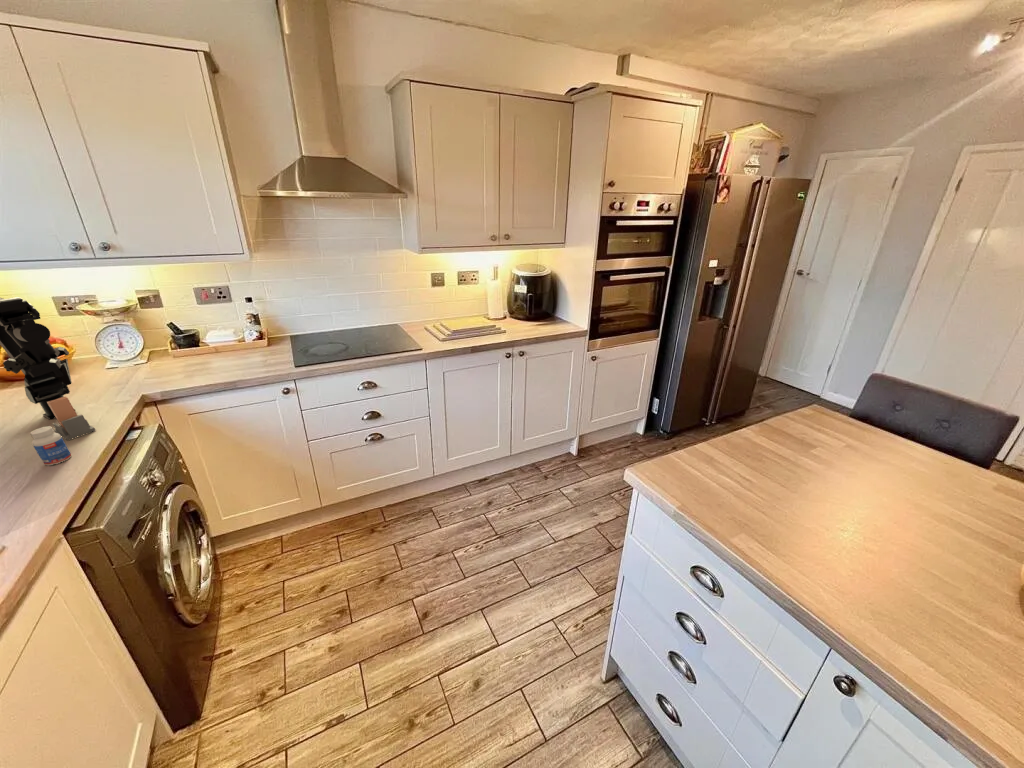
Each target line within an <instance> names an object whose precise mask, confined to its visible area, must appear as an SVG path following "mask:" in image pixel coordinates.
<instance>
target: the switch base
mask: <svg viewBox="0 0 1024 768" xmlns="http://www.w3.org/2000/svg"><path fill="white" fill-rule="evenodd" d="M77 415H78V416H75V417H72V418H70V419H67V420H64V421H61V422H62V424H63V426H64V427H65V429H66V431H67V432H66V431H65V429H64V428H63V427H62V426H61V425H60V424H58V423H56V422H53V423H51V424H52V426H53V427H54V429H53V430H54V433H58V434H60V435H61V436H62V438H63V437H64V438H63V439H65V438H66V439H67V440H66V439H65V440H66V441H68V440H69V439H72V438H75V437H77V436H80V437H82V436H81V435H83V434H85V435H87V434H86V433H88V434H91V433H93V432H96V431H95V430H96V429H95V427H93V426H92V425H90V424H89V422H88V420H87V419H86V418H85V417H84V415H83V414H77ZM92 431H93V432H92ZM90 432H91V433H90ZM83 436H84V435H83ZM77 438H78V437H77ZM75 439H76V438H75ZM72 440H73V439H72ZM69 441H70V440H69Z"/></svg>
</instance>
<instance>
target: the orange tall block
mask: <svg viewBox="0 0 1024 768" xmlns="http://www.w3.org/2000/svg"><path fill="white" fill-rule="evenodd" d="M47 403H48V405H49V407H50V408H51V410H52V412H53V413H54V415H55V417H56V418H55V419H56V420H57V422H58V423H59V424H58V425H60V426H62V427H63V428H64V429H65V427H64V426H63V424H62V422H61V421H64V420H67V419H70V418H72V417H75V416H78V415H79V414H78V413H77V412H76V411H75V410H76V409H75V408H74V406H73V405H72V403H71V402H70V400H69V398H68V397H67V396H64V397H61V398H58V399H55V400H52V401H48V402H47ZM74 409H75V410H74ZM65 431H66V429H65ZM66 432H67V431H66Z"/></svg>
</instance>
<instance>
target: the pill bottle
mask: <svg viewBox="0 0 1024 768" xmlns="http://www.w3.org/2000/svg"><path fill="white" fill-rule="evenodd" d="M54 430H55V429H53V427H52V426H50V425H49V426H42V427H41V426H40V427H38V428H36V429H34V430H32V431H30V434H31V437H32V440H31V445H32V446H33V448H34V450H35V451H36V454H38V456H39V458H40V459H41V461H42V463H43V464H44V466H49V465H50V466H54V465H53V464H56V465H58V464H57V463H59V464H61V463H60V462H62V463H64V462H66V461H68V460H70V459H71V458H70V457H72V453H71V451H70V449H69V448H68V446H67V444H66V442H65V440H64V438H63V437H61V435H60V434H58V433H55V431H54ZM69 458H70V459H69ZM67 459H68V460H67ZM65 460H66V461H65ZM63 461H64V462H63Z"/></svg>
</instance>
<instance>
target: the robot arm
mask: <svg viewBox="0 0 1024 768" xmlns="http://www.w3.org/2000/svg"><path fill="white" fill-rule="evenodd" d="M35 320H41V315H40V312H39V311H38V310H37V309H36V308H35V306H34V305H33V304H32V303H30V302H28V301H27V300H26V299H23V298H22V297H20V296H17V297H16V296H15V297H10V298H4V297H3V298H2V297H0V347H2V349H3V350H4V351H5V353H6V354H7V355H8V356H9V358H8V359H6V360H5V361H3V362H2V364H3V369H5V370H6V372H8V373H10V372H11V373H14V374H15V375H16V374H19V373H20V372H22V374H23V375H24V378H23V379H24V391H25V396H26V397H27V399H28V400H29V402H30V403H33V404H35V405H38V404H39V405H40V406H41V408H42V409H43V412H44V413H42V416H43V417H45V418H46V419H47V420H54V419H57V418H56V417H55V415H54V413H53V412H52V410H51V408H50V407H49V405H48V403H47V402H48V401H52V400H55V399H58V398H61V397H65V395H68V394H70V392H71V391H70V389H69V387H68V386H70V385H72V384H73V382H72V378H71V372H70V366H69V361H68V358H65V359H60V358H58V357H62V356H65V357H66V356H69V355H70V352H69V351H68V350H67V349H66V347H62V346H57V347H55V348H54V347H53V345H52V344H51V343H50V341H51V340H50V337H51V331H50V329H49V328H48V327H47V326H46V325H44V324H41V323H37V322H35ZM74 410H75V412H76V409H75V408H74Z"/></svg>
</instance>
